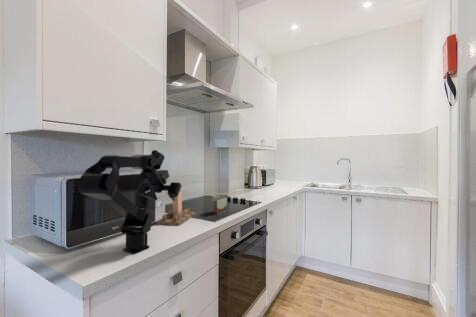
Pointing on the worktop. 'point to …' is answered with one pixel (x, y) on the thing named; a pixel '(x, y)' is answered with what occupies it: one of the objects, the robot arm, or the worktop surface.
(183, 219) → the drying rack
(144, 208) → the robot arm
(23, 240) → the worktop surface
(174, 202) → the clay strip
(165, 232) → the worktop surface
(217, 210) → the food container
